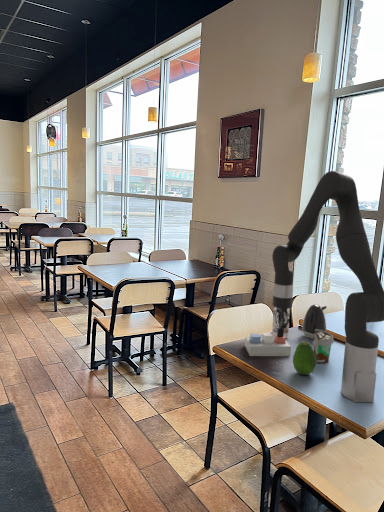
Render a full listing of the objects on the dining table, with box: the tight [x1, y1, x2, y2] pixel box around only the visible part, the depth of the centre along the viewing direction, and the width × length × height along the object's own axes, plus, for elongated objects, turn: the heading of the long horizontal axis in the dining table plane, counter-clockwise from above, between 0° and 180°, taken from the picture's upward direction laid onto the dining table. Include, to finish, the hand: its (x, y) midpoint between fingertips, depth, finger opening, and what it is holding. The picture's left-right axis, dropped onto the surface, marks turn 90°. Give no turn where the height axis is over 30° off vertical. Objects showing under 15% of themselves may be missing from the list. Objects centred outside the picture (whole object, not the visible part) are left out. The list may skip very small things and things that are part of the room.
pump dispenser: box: [301, 304, 327, 340], centre depth 164 cm, size 10×10×15 cm
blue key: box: [249, 333, 262, 343], centre depth 148 cm, size 3×3×4 cm
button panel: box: [244, 336, 292, 357], centre depth 149 cm, size 10×16×4 cm, turn 93°
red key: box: [274, 335, 286, 344], centre depth 149 cm, size 3×3×4 cm
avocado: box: [292, 340, 317, 376], centre depth 129 cm, size 8×8×12 cm
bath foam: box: [271, 306, 291, 340], centre depth 164 cm, size 7×7×20 cm
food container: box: [313, 329, 334, 365], centre depth 142 cm, size 12×6×10 cm, turn 168°
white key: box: [261, 332, 273, 344], centre depth 149 cm, size 3×3×4 cm
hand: (280, 336), depth 149 cm, fingers closed
